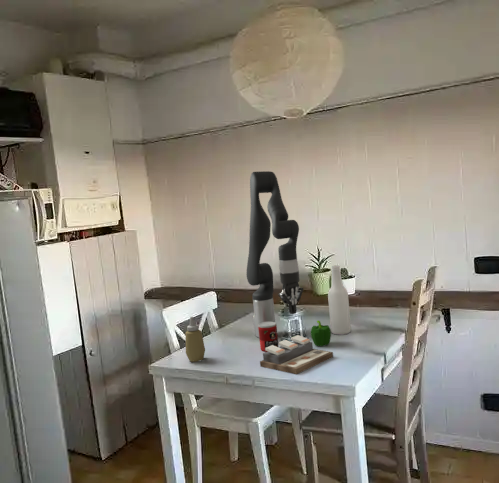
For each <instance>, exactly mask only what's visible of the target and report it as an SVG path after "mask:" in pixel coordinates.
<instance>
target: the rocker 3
mask: <svg viewBox="0 0 499 483" xmlns="http://www.w3.org/2000/svg"><path fill="white" fill-rule="evenodd" d="M290 341H291V342H293V341H295V342H297V344H298V343H300V344H303V345H304V344H307V343H309V342H311V339H309V338H307V337H304V336H301V335H298V334H297V335H295V336H292V337H291V338H290Z"/></svg>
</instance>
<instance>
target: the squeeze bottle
mask: <svg viewBox="0 0 499 483" xmlns="http://www.w3.org/2000/svg"><path fill="white" fill-rule="evenodd" d="M186 326H187V328H186V329H187V330H186V332H185V335H184V336H185V354H186V356H187V359H188V361H189V362H191V363H194V362H200V361H203V360H204V357H205V352H206V348H205V342H204V338H203V333H202V331H201V329H199V324H196V322H195V319H194V317H193V316H190V317H189V325H186Z"/></svg>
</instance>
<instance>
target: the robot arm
mask: <svg viewBox="0 0 499 483" xmlns="http://www.w3.org/2000/svg"><path fill="white" fill-rule="evenodd" d="M249 189H250V190H249V194H250V214H249V215H250V216H249V242H248V244H249V246H248V257H247V263H246V264H247V265H246V279H247V282H248V284H249V285H250V286H253V287H254V286H258V288H257V289H256V290H255V291H254V292H253V293H252V295H251V296H252V303H253V314H254V315H253V316H252V322H253V331H254V336H255V337H256V338H259V330H258V324H260V323H262V322H275V323H276V315H275V304H274V295H273V294H274V288H275V287H274V272H273V269H272V266H271V265H270V264H269V263H268V262H261V256H262V254H263V252H264V250H265V248H266V247H267V244H268V243H269V241H270V238H271V233H272V236H273V237H274V238H276V239H277V240H282V239H288V241H287V242H286V243H284V244H280V245H279V246H278V249H277V250H278V260H279V261H278V262H279V263H278V267H279V277H280V283H281V284H282V287H281V292H279V293H278V297H279V298H280V299H281V301H282V302H283V303H284V304H285V305H288V312H289V314H290V315H295V314H297V304H298V302H300V300H301V297H302V295H303V292H304V287H301V286H300V283H299V282H300V280H301V279H300V271H299V261H298V255H297V254H298V253H297V244H298V243H297V242H298V238H299V233H300V232H299V231H300V226H299V223H298V221H296V220H295V219H289V213H288V211H287V208H286V207H285V204H284V202H283V198H282V194H281V189H280V185H279V181H278V178H277V175H276V174H275V172H273V171H269V170H268V171H253V172H251V174H250V178H249ZM269 193H270V194H271V196H270V198H269V200H268V201H267V212H268V214H267V213H266V211H265V209H264V208H263V205H262V203H261V200H260V194H269ZM268 215H269V216H268ZM270 219H271V220H270ZM271 224H272V225H271Z"/></svg>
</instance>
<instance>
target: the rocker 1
mask: <svg viewBox="0 0 499 483" xmlns="http://www.w3.org/2000/svg"><path fill="white" fill-rule="evenodd" d="M279 347H280V346H278V347H276V346H274V345H271V346H269V347H266V348H265V350H266V351H268V352H271V354H275V355H280V354H283V353H285V350H284V349H281V348H279Z"/></svg>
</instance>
